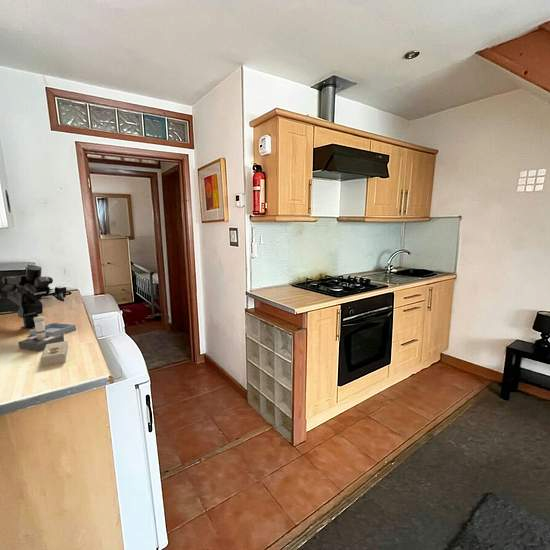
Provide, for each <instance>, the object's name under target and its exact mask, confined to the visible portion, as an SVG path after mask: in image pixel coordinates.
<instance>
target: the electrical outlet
mask: <svg viewBox="0 0 550 550" xmlns="http://www.w3.org/2000/svg"><path fill="white" fill-rule="evenodd" d="M68 351H69V343H68V340H64V341H63V342H57V343H51V344H46V347H45V349H44V350H42V354H41V356H40V365H41V368H45V367H46V366H47V367H51V366H50V365H52V366H56V365H55V364H57V365H61V364H60V363H62V364H66V361H67V357H66V356H67V355H68Z"/></svg>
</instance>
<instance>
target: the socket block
mask: <svg viewBox="0 0 550 550" xmlns="http://www.w3.org/2000/svg"><path fill="white" fill-rule="evenodd" d="M64 335H65V334H62V335H58V334H48V333H46V338H45V339H43V340H42V341H37V336H30V337H28V338H25V339H24V340H21V341H18V348H20V349H19V350H25V349H28V350H27V351H33V350H36V351H35V352H42V351H43V349H45V347H46V344H51V343H57V342H63V341H65V338H64ZM41 350H42V351H41Z"/></svg>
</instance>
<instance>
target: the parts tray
mask: <svg viewBox="0 0 550 550" xmlns="http://www.w3.org/2000/svg"><path fill="white" fill-rule="evenodd" d="M44 325H45V332H46V333H48V334H58V335H65V334H67V333H70V332H72V330H73V331H74V330H77V326H76V324H75V323H73V324H72V323H62V322H51V323H48V324H44ZM28 331H29V336H30V337H33V336H36V329H35V328H32V329H28ZM64 333H65V334H64Z"/></svg>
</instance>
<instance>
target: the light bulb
mask: <svg viewBox="0 0 550 550" xmlns="http://www.w3.org/2000/svg"><path fill="white" fill-rule="evenodd" d="M33 319H34V322H35V328H34V329H36V336H37V341H42V340H43V339H45V338H46V332H45V325H46V324H45V316H44V315H40V316H39V315H38V317H34V318H33Z"/></svg>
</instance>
